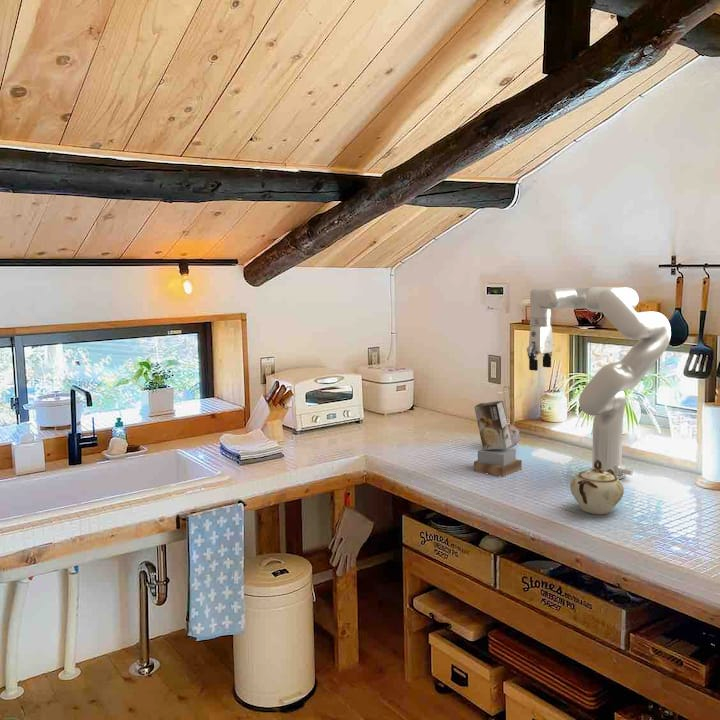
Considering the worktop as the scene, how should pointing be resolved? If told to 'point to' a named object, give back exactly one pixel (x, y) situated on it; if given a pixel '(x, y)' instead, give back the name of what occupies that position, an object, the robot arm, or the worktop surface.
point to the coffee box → (493, 425)
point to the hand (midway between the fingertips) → (540, 368)
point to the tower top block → (497, 456)
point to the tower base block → (498, 468)
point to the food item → (513, 435)
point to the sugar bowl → (597, 490)
